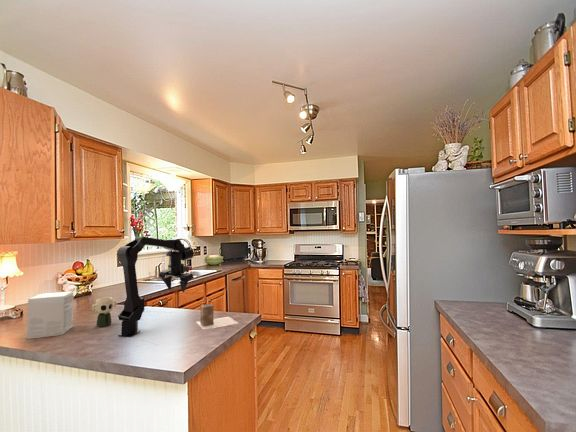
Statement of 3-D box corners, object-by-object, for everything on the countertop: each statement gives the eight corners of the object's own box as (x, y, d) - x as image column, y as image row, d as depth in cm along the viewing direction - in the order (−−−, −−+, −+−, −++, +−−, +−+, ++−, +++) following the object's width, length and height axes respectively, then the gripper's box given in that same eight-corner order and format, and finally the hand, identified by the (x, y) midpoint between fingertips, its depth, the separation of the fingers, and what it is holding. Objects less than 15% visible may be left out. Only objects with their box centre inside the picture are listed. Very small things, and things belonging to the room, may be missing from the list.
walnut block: (203, 326, 133) (203, 307, 134) (200, 323, 137) (200, 305, 138) (213, 324, 136) (213, 305, 136) (210, 322, 140) (210, 303, 141)
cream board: (203, 331, 129) (203, 329, 129) (196, 323, 141) (196, 322, 141) (238, 324, 138) (238, 323, 138) (228, 317, 150) (228, 316, 150)
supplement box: (73, 326, 139) (74, 290, 140) (62, 335, 127) (64, 295, 128) (39, 330, 134) (41, 293, 135) (25, 339, 122) (27, 298, 123)
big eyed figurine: (94, 329, 133) (95, 302, 134) (88, 327, 137) (89, 300, 138) (119, 323, 142) (119, 297, 143) (112, 321, 146) (113, 296, 147)
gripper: (199, 260, 154) (200, 288, 156) (173, 257, 161) (174, 283, 163) (185, 266, 144) (186, 295, 146) (157, 262, 151) (159, 290, 153)
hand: (176, 290), depth 152 cm, fingers open, 9 cm apart
